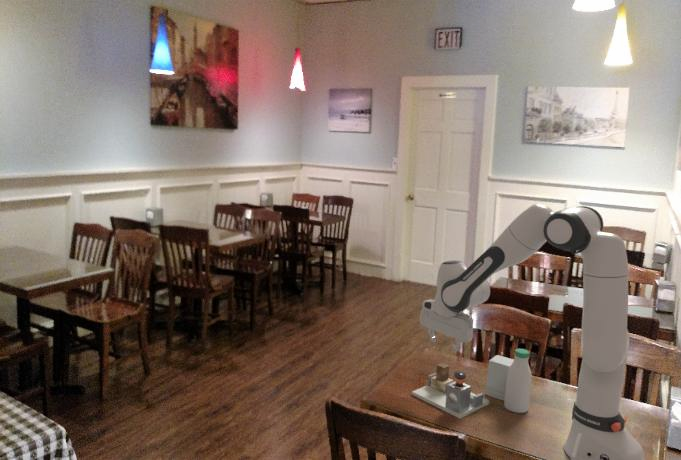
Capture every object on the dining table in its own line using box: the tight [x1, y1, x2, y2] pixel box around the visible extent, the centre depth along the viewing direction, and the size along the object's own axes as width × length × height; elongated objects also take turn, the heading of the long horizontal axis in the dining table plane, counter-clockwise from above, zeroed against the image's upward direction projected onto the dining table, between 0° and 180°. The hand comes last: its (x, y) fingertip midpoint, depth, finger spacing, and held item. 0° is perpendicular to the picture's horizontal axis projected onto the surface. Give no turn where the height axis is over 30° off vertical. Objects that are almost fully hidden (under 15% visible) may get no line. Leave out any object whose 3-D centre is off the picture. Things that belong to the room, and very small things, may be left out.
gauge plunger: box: [453, 370, 467, 389], centre depth 178 cm, size 4×4×8 cm
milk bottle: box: [503, 348, 533, 414], centre depth 182 cm, size 8×8×20 cm
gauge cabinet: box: [445, 380, 472, 414], centre depth 179 cm, size 5×6×9 cm
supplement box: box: [485, 354, 515, 402], centre depth 192 cm, size 7×7×13 cm
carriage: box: [430, 362, 455, 393], centre depth 192 cm, size 6×5×8 cm
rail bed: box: [411, 372, 490, 420], centre depth 187 cm, size 20×16×5 cm
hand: (443, 345), depth 190 cm, fingers open, 8 cm apart
